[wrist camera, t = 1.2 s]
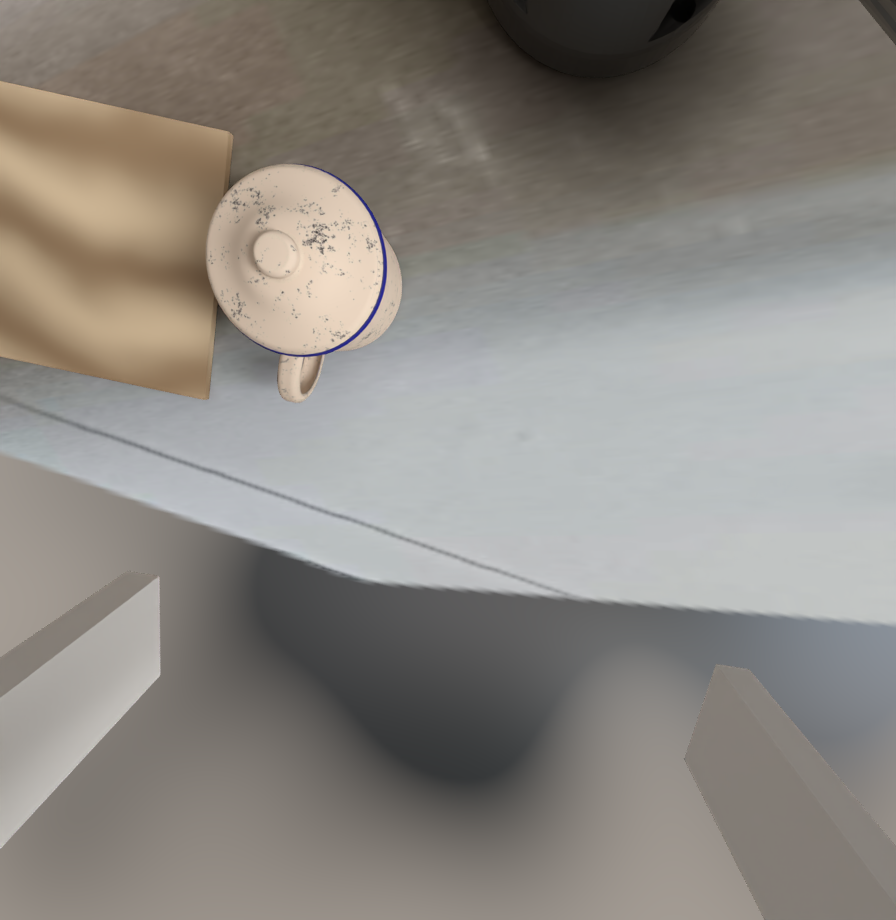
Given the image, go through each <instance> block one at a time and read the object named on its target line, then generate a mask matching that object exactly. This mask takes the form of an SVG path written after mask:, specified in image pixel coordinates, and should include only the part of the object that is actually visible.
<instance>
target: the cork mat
mask: <svg viewBox="0 0 896 920" xmlns="http://www.w3.org/2000/svg"><path fill="white" fill-rule="evenodd" d="M232 145H233V135H232V134H231V133H230V132H228V131H223V130H219V129H214V128H210V127H205V126H201V125H196V124H192V123H187V122H183V121H178V120H174V119H169V118H164V117H160V116H155V115H151V114H146V113H142V112H137V111H133V110H128V109H124V108H119V107H115V106H110V105H106V104H101V103H97V102H92V101H88V100H83V99H79V98H74V97H70V96H65V95H61V94H56V93H52V92H47V91H43V90H38V89H34V88H29V87H25V86H20V85H16V84H11V83H7V82H2V81H0V357H5V358H10V359H15V360H19V361H24V362H29V363H33V364H38V365H43V366H48V367H52V368H57V369H62V370H66V371H71V372H76V373H80V374H85V375H90V376H95V377H99V378H104V379H109V380H113V381H118V382H123V383H128V384H132V385H137V386H142V387H146V388H151V389H156V390H161V391H165V392H170V393H175V394H179V395H184V396H189V397H193V398H198V399H203V400H206V399H209V392H210V381H211V370H212V359H213V349H214V338H215V327H216V316H217V306H218V301H217V299H216V297H215V295H214V293H213V290H212V288H211V284H210V281H209V278H208V273H207V267H206V239H207V233H208V228H209V225H210V221H211V219H212V216H213V214H214V212H215V210H216V208H217V206H218V204H219V202H220V201H221V199H222V198H223V197H224V195H225V194H226V193H227V191H228V188H229V177H230V166H231V155H232Z"/></svg>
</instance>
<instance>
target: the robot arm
mask: <svg viewBox="0 0 896 920" xmlns="http://www.w3.org/2000/svg"><path fill="white" fill-rule="evenodd" d="M487 1H488V3H489V5H490V7H491V9H492V11H493V13H494V14H495V16H496V18H497V19H498V21H499V23H500V24H501V26H502V27H503V28H504V30H505V31H506V32H507V34H508V35H509V36H510V37H511V38H512V39H513V41H514V42H515V43H516V44H517V45H518V46H520V47H521V48H522V49H523V50H524V51H525V52H526V53H528V54H529V55H530V56H532V57H533V58H534V59H536V60H537V61H539V62H541V63H543V64H544V65H546V66H548V67H550V68H553V69H555V70H558V71H560V72H563V73H567V74H570V75H575V76H580V77H590V78H603V77H613V76H619V75H623V74H627V73H631V72H634V71H637V70H640V69H642V68H644V67H647V66H649V65H651V64H653V63H655V62H657V61H658V60H660V59H662V58H663V57H665V56H666V55H668V54H669V53H671V52H672V51H673V50H675V49H676V48H677V47H679V46H680V45H681V44H682V43H683V42H684V41H686V40H687V39H688V38H689V37H690V36H691V35H692V34H693V33H694V32H695V31H696V29H697V28H698V27H699V26H700V25H701V24H702V23H703V21H704V20H705V19H706V18H707V16H708V15H709V14H710V12H711V11H712V9H713V8H714V7H715V5H716V4H717V3H718V1H719V0H487ZM859 1H860V2H861V3H862V4H863V6H864V7H865V8H866V9H867V10H868V12H869V13H870V14H871V15H872V17H873V18H874V19H875V20H876V22H877V23H878V24H879V25H880V26H881V28H882V29H883V30H884V31H885V33H886V34H887V35H888V36H889V38H890V39H891V40H892V41H893V42H894V44H895V45H896V0H859ZM159 582H160V581H159V576H156V575H150V574H144V573H137V572H131V571H127V572H125V573H124V574H122V575H121V576H119V577H118V578H117V579H115V580H113V581H112V582H110V583H109V584H108V585H106V586H105V587H103V588H102V589H100V590H99V591H97V592H96V593H94V594H93V595H91V596H90V597H88V598H87V599H85V600H84V601H83V602H81V603H80V604H78V605H77V606H75V607H74V608H72V609H71V610H69V611H68V612H66V613H65V614H64V615H62V616H60V617H59V618H58V619H56V620H55V621H53V622H52V623H50V624H49V625H47V626H46V627H44V628H43V629H41V630H40V631H38V632H37V633H35V634H34V635H33V636H31V637H30V638H28V639H27V640H25V641H24V642H22V643H21V644H19V645H18V646H16V647H15V648H13V649H12V650H11V651H9V652H8V653H6V654H5V655H3V656H2V657H0V849H1V847H2V846H3V845H4V844H5V843H6V842H7V841H8V840H9V839H10V837H12V835H13V834H14V833H15V832H16V831H17V830H18V829H19V828H20V827H21V826H22V825H23V824H24V822H25V821H26V820H27V819H28V818H29V817H30V816H31V815H32V814H33V813H34V811H36V809H37V808H38V807H39V806H40V805H41V804H42V803H43V802H44V801H45V800H46V798H48V796H49V795H50V794H51V793H52V792H53V791H54V790H55V789H56V788H57V787H58V786H59V784H60V783H61V782H62V781H63V780H64V779H65V778H66V777H67V776H68V775H69V774H70V773H71V771H72V770H73V769H74V768H75V767H76V766H77V765H78V764H79V763H80V762H81V761H82V760H83V758H84V757H85V756H86V755H87V754H88V753H89V752H90V751H91V750H92V749H93V748H94V747H95V745H96V744H97V743H98V742H99V741H100V740H101V739H102V738H103V737H104V736H105V735H106V733H107V732H108V731H109V730H110V729H111V728H112V727H113V726H114V725H115V723H117V722H118V720H119V719H120V718H121V717H122V716H123V715H124V714H125V713H126V712H127V711H128V709H130V707H131V706H132V705H133V704H134V703H135V702H136V701H137V700H138V699H139V698H140V697H141V695H142V694H143V693H144V692H145V691H146V690H147V689H148V688H149V687H150V686H151V685H152V683H153V682H154V681H155V680H156V679H157V678H158V677H159V676H160V590H159V589H160V586H159V585H160V583H159ZM684 760H685V762H686V764H687V766H688V768H689V770H690V772H691V774H692V776H693V778H694V780H695V782H696V784H697V786H698V788H699V790H700V792H701V794H702V796H703V798H704V800H705V802H706V804H707V806H708V808H709V810H710V812H711V814H712V816H713V818H714V820H715V822H716V824H717V826H718V828H719V830H720V832H721V834H722V836H723V838H724V840H725V842H726V844H727V846H728V848H729V850H730V852H731V854H732V856H733V858H734V860H735V862H736V864H737V866H738V868H739V870H740V872H741V874H742V876H743V878H744V880H745V882H746V884H747V886H748V888H749V890H750V892H751V894H752V896H753V898H754V900H755V902H756V904H757V906H758V908H759V910H760V912H761V914H762V916H763V918H764V920H896V846H895V844H894V843H893V842H892V841H891V840H890V838H889V837H888V836H887V835H886V834H885V832H884V831H883V830H882V829H881V828H880V826H879V825H878V824H877V823H876V822H875V820H874V819H873V818H872V817H871V816H870V814H869V813H868V812H867V811H866V810H865V808H864V807H863V806H862V805H861V804H860V802H859V801H858V800H857V799H856V797H855V796H854V795H853V794H852V793H851V791H850V790H849V789H848V788H847V787H846V786H845V784H844V783H843V782H842V781H841V779H840V778H839V777H838V776H837V775H836V773H835V772H834V771H833V770H832V769H831V767H830V766H829V765H828V764H827V763H826V761H825V760H824V759H823V758H822V757H821V755H820V754H819V753H818V752H817V751H816V749H815V748H814V747H813V746H812V744H811V743H810V742H809V741H808V740H807V738H806V737H805V736H804V735H803V734H802V732H801V731H800V730H799V729H798V728H797V727H796V725H795V724H794V723H793V722H792V720H791V719H790V718H789V717H788V716H787V714H786V713H785V712H784V711H783V710H782V709H781V707H780V706H779V705H778V704H777V703H776V701H775V700H774V699H773V697H772V696H771V695H770V694H769V693H768V692H767V690H766V689H765V688H764V687H763V685H762V684H761V683H760V682H759V681H758V680H757V678H756V677H755V676H754V675H753V673H752V672H751V671H750V670H749V669H745V668H738V667H732V666H725V665H719V664H716V666H715V669H714V672H713V675H712V678H711V681H710V684H709V687H708V690H707V693H706V696H705V698H704V701H703V704H702V707H701V710H700V713H699V716H698V720H697V722H696V725H695V728H694V731H693V734H692V737H691V740H690V743H689V746H688V749H687V753H686V755H685V758H684Z"/></svg>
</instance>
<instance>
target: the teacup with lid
mask: <svg viewBox="0 0 896 920" xmlns="http://www.w3.org/2000/svg"><path fill="white" fill-rule="evenodd" d="M206 267H207V273H208V278H209V281H210V284H211V288H212V290H213V293H214V295H215V297H216V299H217V301H218V303H219V305H220V307H221V308H222V310H223V312H224V313H225V314H226V316H227V317H228V318H229V320H230V321H231V322H232V323H233V324H234V325H235V326H236V328H237V329H239V330H240V331H241V332H242V333H243V334H244V335H245V336H246V337H248V338H249V339H250V340H252V341H253V342H255V343H256V344H258V345H260V346H262V347H263V348H265V349H268V350H270V351H273V352H275V353H279V354H280V360H279V366H278V375H277V382H278V389H279V393H280V395H281V397H282V398H283V399H285V400H287V401H291V402H295V403H300V402H302V401H304V400H305V399H307V398H308V396H309V395H310V394H311V393H312V391H313V389H314V388H315V386H316V383H317V381H318V379H319V376H320V373H321V369H322V365H323V360H324V356H325V354H327V353H330V352H333V351H348V350H354V349H358V348H361V347H363V346H366V345H368V344H370V343H371V342H373V341H374V340H376V339H377V338H378V337H380V336H381V335H382V334H383V333H384V332H385V331H386V330H387V328H388V327H389V326H390V324H391V323H392V321H393V319H394V318H395V315H396V313H397V311H398V308H399V305H400V301H401V295H402V277H401V271H400V266H399V263H398V260H397V258H396V255H395V253H394V251H393V249H392V247H391V246H390V244H389V243H388V241H387V240H386V239H385V237H384V236H383V235H382V233H381V230H380V228H379V226H378V223H377V221H376V219H375V217H374V215H373V213H372V212H371V210H370V209H369V207H368V206H367V204H366V203H365V202H364V200H363V199H362V198H361V197H360V196H359V195H358V194H357V193H356V191H355V190H353V189H352V188H351V187H350V186H349V185H348V184H346V183H345V182H344V181H342V180H341V179H339V178H338V177H336V176H334V175H333V174H331V173H329V172H326V171H324V170H322V169H319V168H316V167H313V166H308V165H302V164H278V165H272V166H268V167H264V168H261V169H258V170H256V171H254V172H252V173H250V174H248V175H246V176H245V177H243V178H242V179H240V180H239V181H238V182H237V183H236V184H234V185H233V186H232V187H231V188H230V189H229V190H228V191H227V193H226V194H225V195H224V197H223V198H222V199H221V201H220V202H219V204H218V206H217V208H216V210H215V212H214V214H213V216H212V219H211V221H210V225H209V228H208V233H207V239H206Z"/></svg>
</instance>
